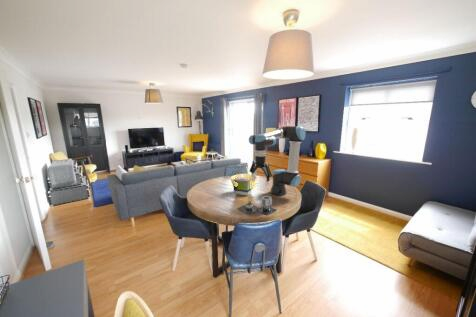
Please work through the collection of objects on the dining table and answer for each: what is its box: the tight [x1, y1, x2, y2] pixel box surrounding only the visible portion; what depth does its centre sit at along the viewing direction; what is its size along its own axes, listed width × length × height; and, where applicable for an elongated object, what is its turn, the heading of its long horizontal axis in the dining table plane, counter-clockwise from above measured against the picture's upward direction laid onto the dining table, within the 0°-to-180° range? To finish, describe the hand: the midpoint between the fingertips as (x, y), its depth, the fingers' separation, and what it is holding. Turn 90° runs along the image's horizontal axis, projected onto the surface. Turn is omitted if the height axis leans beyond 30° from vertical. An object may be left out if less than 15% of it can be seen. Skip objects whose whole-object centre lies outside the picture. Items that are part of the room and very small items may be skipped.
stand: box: [256, 198, 278, 216], centre depth 158 cm, size 12×12×10 cm
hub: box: [237, 196, 260, 216], centre depth 160 cm, size 14×14×10 cm
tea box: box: [232, 176, 252, 197], centre depth 194 cm, size 15×10×15 cm, turn 66°
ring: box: [260, 195, 273, 207], centre depth 157 cm, size 8×8×5 cm
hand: (260, 183), depth 151 cm, fingers open, 13 cm apart
